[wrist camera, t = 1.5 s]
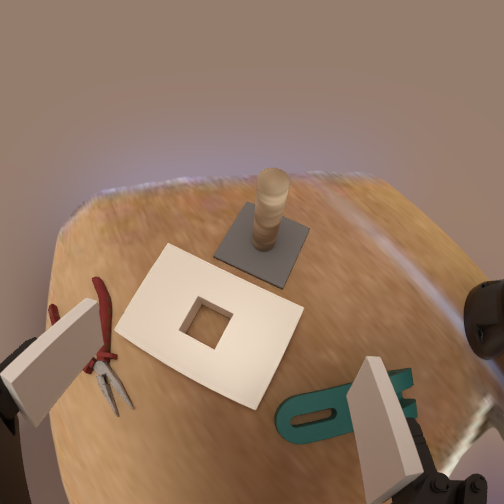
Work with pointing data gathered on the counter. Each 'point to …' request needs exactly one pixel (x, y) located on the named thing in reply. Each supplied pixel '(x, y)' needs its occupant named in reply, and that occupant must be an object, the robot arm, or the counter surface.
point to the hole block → (234, 337)
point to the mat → (256, 262)
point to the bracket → (333, 410)
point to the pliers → (104, 353)
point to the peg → (269, 207)
